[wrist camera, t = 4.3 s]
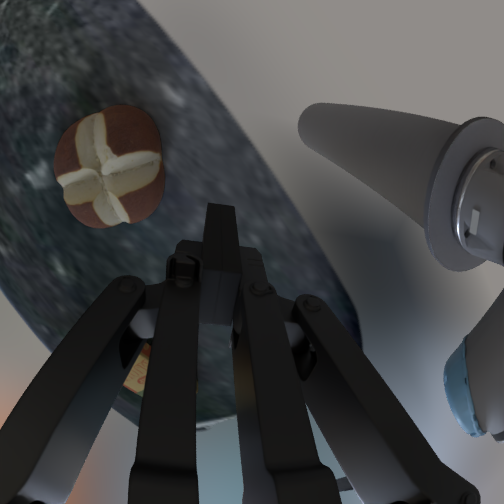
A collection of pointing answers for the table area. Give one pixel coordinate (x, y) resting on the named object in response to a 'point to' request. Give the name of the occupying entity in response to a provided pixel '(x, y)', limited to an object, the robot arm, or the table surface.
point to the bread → (111, 167)
